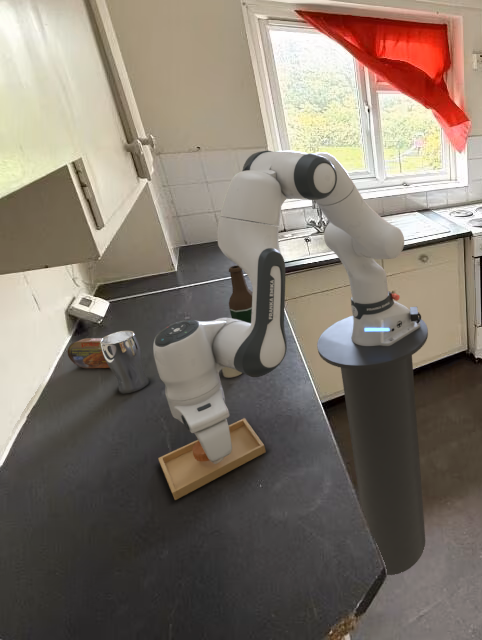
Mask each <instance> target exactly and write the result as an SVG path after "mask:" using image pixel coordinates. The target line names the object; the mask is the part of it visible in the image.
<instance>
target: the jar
mask: <svg viewBox="0 0 482 640" xmlns="http://www.w3.org/2000/svg"><path fill="white" fill-rule="evenodd" d="M221 373H222V376H223V377H224V378H228V379H229V378H236V377H238V376H240V375H242V374H243V373H241V372H239V371H237V370H235V369H232V368H228V367H225V368H223V369H221Z"/></svg>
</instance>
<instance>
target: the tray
mask: <svg viewBox="0 0 482 640" xmlns="http://www.w3.org/2000/svg"><path fill="white" fill-rule="evenodd" d="M228 426H229V431H230V437H231V444H232V451H231V453H230V454H229V455H227V456H226V457H224V459H223V461H221V462H219V463H217V464H214V463H213V462H211V461H210V460H209V461H197V460H196V459H195V458H194V455H193V450H192V449H193V446H194V445H195V443H196V442H197V441H199V440H198V439H197V440H194V441H192V442H190V443H188V444H186V445H184V446H181V447H178V448H176V449H175V450H173V451H170V452H168V453H166V454H164V455H162V456H160V457H158V458H157V459H158V462H159V465H160V467H161V470H162V472H163V475H164V477H165V480H166V482H167V484H168V487H169V489H170V492H171V494H172V496H173V499H174V501H177V500H179V499H180V498H182V497H184V496H186V495H188V494H190V493H192V492H194V491H196V490H197V489H199V488H201V487H203V486H205V485H207V484H209V483H210V482H212V481H215V480H216V479H218V478H220V477H222V476H224V475H226V474H227V473H229V472H231V471H233V470H235V469H237V468H238V467H241V466H243V465H244V464H246V463H248V462H250V461H252V460H254V459H255V458H257V457H259V456H262V455H264V454H265V453H266V452H267V451H266V447H265V444H264V443H263V441H262V440H261V439H260V437H259V436H258V435H257V433H256V432H255V430H254V429H253V428H252V426H251V425H250V423H249V421H248V420H247V418H245V417H243V418H242V419H239V420H238V421H235V422H233V423H231V424H228Z"/></svg>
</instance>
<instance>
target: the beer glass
mask: <svg viewBox="0 0 482 640" xmlns="http://www.w3.org/2000/svg"><path fill="white" fill-rule="evenodd" d="M101 338H102V339H101V340H100V344H101V348H102V352H103V355H104V358H105V360H106V362H107V364H108V366H109V367H110V368H109V369H110V371H111V372H112V373H113V374H114V376H115V378H116V379H117V386H118V391H119V393H121V394H131V393H135V392H138V391H140V390H142V389H144V388H145V387H147V386H148V385H149V384H150V380H149V378H148V376H147V375H146V374H145V371H144V368H143V366H144V365H143V355H142V349H141V345H140V343H139V341H138V338H137V336H136V334H135V331H133V330H121V331H116V332H112V333H110V334H108V335H105V336H103V337H101Z"/></svg>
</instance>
